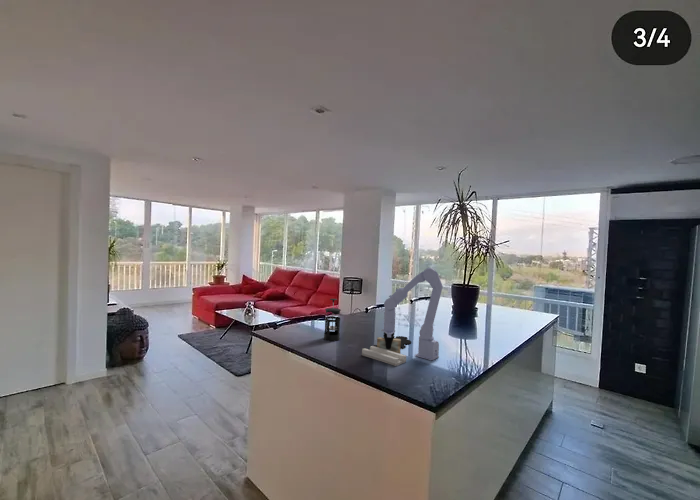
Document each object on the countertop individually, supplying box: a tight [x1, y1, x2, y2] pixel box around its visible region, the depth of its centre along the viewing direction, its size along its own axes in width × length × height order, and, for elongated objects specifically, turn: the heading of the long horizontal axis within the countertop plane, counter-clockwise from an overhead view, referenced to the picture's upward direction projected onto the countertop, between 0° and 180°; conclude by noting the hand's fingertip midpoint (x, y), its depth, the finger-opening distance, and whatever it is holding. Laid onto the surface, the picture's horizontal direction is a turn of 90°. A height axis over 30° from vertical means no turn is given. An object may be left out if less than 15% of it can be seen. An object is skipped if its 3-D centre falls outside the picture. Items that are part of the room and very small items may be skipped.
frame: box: [376, 336, 401, 354], centre depth 168 cm, size 12×3×6 cm, turn 83°
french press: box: [323, 298, 342, 342], centre depth 187 cm, size 12×9×23 cm
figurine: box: [372, 335, 412, 350], centre depth 183 cm, size 16×1×30 cm
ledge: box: [361, 345, 407, 367], centre depth 156 cm, size 20×8×3 cm, turn 48°
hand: (388, 347), depth 168 cm, fingers closed on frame, 3 cm apart
